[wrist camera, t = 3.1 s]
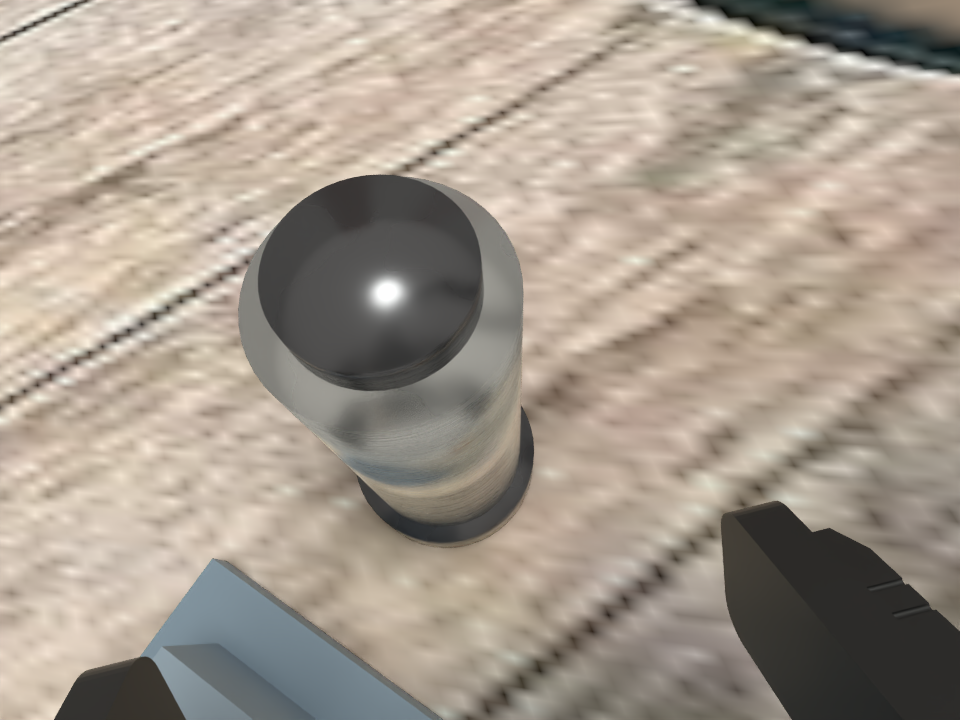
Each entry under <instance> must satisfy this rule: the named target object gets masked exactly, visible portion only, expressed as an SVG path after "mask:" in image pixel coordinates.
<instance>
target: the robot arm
mask: <svg viewBox="0 0 960 720" xmlns="http://www.w3.org/2000/svg"><path fill="white" fill-rule="evenodd" d="M721 533H722V548H723V563H724V578H725V593H726V601H727V606H728V610H729V614H730V617H731V620H732V622H733V625H734V627H735V630H736V632H737V634H738V636H739V638H740V640H741V642H742V643H743V645H744V647H745V648H746V650H747V651H748V653H749V654H750V656H751V658H752V659H753V661H754V662H755V664H756V665H757V667H758V668H759V670H760V671H761V673H762V674H763V676H764V677H765V679H766V681H767V682H768V684H769V685H770V687H771V688H772V690H773V691H774V693H775V694H776V696H777V697H778V699H779V701H780V702H781V704H782V705H783V707H784V708H785V710H786V711H787V713H788V714H789V716H790V717H791V719H792V720H960V631H959V630H957V629H956V628H955V627H954V626H953V625H952V624H951V623H950V622H949V621H948V620H947V619H946V618H945V617H943V616H942V615H941V614H940V613H939V612H938V611H937V610H932V609H931V608H930V606H929V603H928V602H927V601H926V600H925V599H924V598H923V597H922V596H921V595H920V594H919V593H918V592H917V591H915V590H914V589H913V588H912V587H911V586H910V585H909V584H906V585H905V584H904V583H903V581H902V578H901V577H900V576H899V575H898V574H897V573H896V572H895V571H894V570H893V569H892V568H891V567H890V566H888V565H887V564H886V563H885V562H884V561H883V560H882V559H881V558H880V557H879V556H878V555H877V554H876V553H874V552H873V551H872V550H871V549H870V548H868V547H866V546H864V545H862V544H860V543H858V542H856V541H854V540H852V539H850V538H848V537H846V536H844V535H842V534H840V533H838V532H836V531H834V530H832V529H830V528H828V529H824V530H820V531H816V532H811V531H810V530H809V528H808V527H807V526H806V525H805V524H804V523H803V522H802V521H801V520H800V519H799V518H798V517H797V516H796V515H795V514H794V513H793V512H792V511H791V510H790V509H789V508H788V507H787V506H786V505H784V504H783V503H781V502H779V501H772V502H768V503H764V504H760V505H756V506H752V507H748V508H744V509H740V510H736V511H732V512H728V513H725V514H724V515H723V516H722V520H721ZM54 720H186V719H185V717H184V715H183V713H182V711H181V709H180V707H179V705H178V704H177V702H176V700H175V698H174V696H173V694H172V692H171V691H170V689H169V687H168V685H167V683H166V681H165V679H164V677H163V676H162V674H161V672H160V670H159V668H158V666H157V665H156V663H155V662H154V661H153V660H152V659H151V658H149V657H146V656H144V657H138V658H134V659H130V660H126V661H122V662H118V663H114V664H110V665H106V666H102V667H98V668H94V669H90V670H87V671H85V672H84V673H82V674H81V675H80V676H79V677H78V678H77V680H76V681H75V683H74V684H73V686H72V688H71V690H70V692H69V693H68V695H67V697H66V699H65V701H64V702H63V704H62V706H61V708H60V710H59V712H58V713H57V715H56V717H55V719H54Z"/></svg>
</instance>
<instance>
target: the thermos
mask: <svg viewBox="0 0 960 720" xmlns="http://www.w3.org/2000/svg"><path fill="white" fill-rule="evenodd" d="M238 316H239V330H240V336H241V342H242V345H243V348H244V351H245V354H246V357H247V359H248V361H249V363H250V365H251V367H252V369H253V371H254V373H255V374H256V375H257V377H258V378H259V380H260V381H261V382H262V384H263V385H264V386H265V388H266V389H267V390H268V391H269V392H270V393H271V394H272V395H273V396H274V397H275V398H276V399H277V400H278V401H280V402H281V403H282V404H283V405H284V406H285V407H286V408H287V409H288V410H289V411H290V412H291V413H292V414H293V415H294V416H295V417H296V418H297V419H299V420H300V421H301V422H302V423H303V424H304V425H305V426H306V427H307V428H308V429H309V430H310V431H311V432H312V433H313V434H314V435H315V436H316V437H318V438H319V439H320V440H321V441H322V442H323V443H324V444H325V445H326V446H327V447H328V448H329V449H330V450H331V451H332V452H333V453H334V454H335V455H337V456H338V457H339V458H340V459H341V460H342V461H343V462H344V463H345V464H346V465H347V466H348V467H349V468H350V469H351V470H352V471H353V472H354V473H356V474H357V477H358V482H359V484H360V487H361V490H362V492H363V494H364V496H365V498H366V500H367V501H368V503H369V504H370V506H371V507H372V508H373V510H374V511H375V512H376V513H377V514H378V515H379V516H380V517H381V518H382V519H383V520H384V521H385V522H386V523H387V524H389V525H390V526H391V527H393V528H394V529H395V530H396V531H398V532H399V533H400V534H402V535H403V536H405V537H407V538H409V539H411V540H413V541H415V542H418V543H420V544H424V545H428V546H432V547H441V548H453V547H461V546H466V545H470V544H473V543H476V542H479V541H481V540H483V539H485V538H487V537H489V536H491V535H492V534H494V533H495V532H497V531H498V530H500V529H501V528H502V527H503V526H504V525H505V524H507V523H508V521H509V520H510V519H511V518H512V517H513V516H514V515H515V513H516V512H517V510H518V509H519V508H520V506H521V504H522V502H523V500H524V498H525V496H526V494H527V491H528V488H529V485H530V481H531V476H532V469H533V457H534V444H533V436H532V431H531V427H530V424H529V421H528V418H527V416H526V414H525V412H524V410H523V408H522V407H521V383H522V338H523V279H522V273H521V269H520V264H519V260H518V258H517V255H516V252H515V250H514V247H513V245H512V243H511V241H510V240H509V238H508V236H507V234H506V232H505V231H504V230H503V229H502V227H501V226H500V225H499V223H498V222H497V221H496V219H495V218H494V217H493V216H492V215H491V214H490V213H489V212H488V211H487V210H485V209H484V208H483V207H482V206H481V205H479V204H478V203H477V202H475V201H474V200H473V199H471V198H469V197H468V196H466V195H464V194H462V193H461V192H459V191H457V190H455V189H452V188H450V187H447V186H445V185H443V184H439V183H436V182H432V181H429V180H425V179H418V178H412V177H401V176H394V175H366V176H360V177H353V178H349V179H346V180H342V181H339V182H336V183H334V184H331V185H328V186H326V187H324V188H322V189H320V190H318V191H316V192H314V193H313V194H311V195H310V196H308V197H307V198H305V199H304V200H302V201H301V202H300V203H299V204H297V205H296V206H295V207H294V208H293V209H291V210H290V211H289V213H288V214H287V215H286V216H285V217H284V218H283V219H282V220H281V221H280V222H279V223H278V225H277V226H276V227H275V228H274V229H273V230H272V231H271V232H270V233H269V234H268V236H267V237H266V238H265V240H264V241H263V242H262V244H261V245H260V246H259V248H258V250H257V252H256V253H255V255H254V257H253V259H252V260H251V263H250V265H249V267H248V270H247V272H246V274H245V277H244V281H243V285H242V288H241V292H240V300H239V308H238Z"/></svg>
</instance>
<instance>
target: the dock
mask: <svg viewBox="0 0 960 720" xmlns="http://www.w3.org/2000/svg"><path fill="white" fill-rule="evenodd" d="M144 656H146V657H149V658H151V659H152V660H153V661H154V662H155V663H156V665H157V666H158V668H159V670H160V672H161V674H162V676H163V677H164V679H165V681H166V683H167V685H168V687H169V689H170V691H171V692H172V694H173V696H174V698H175V700H176V702H177V704H178V705H179V707H180V709H181V711H182V713H183V715H184V717H185V719H186V720H443V719H442V718H440V717H439V716H437V715H436V714H435V713H433V712H432V711H431V710H429V709H428V708H427V707H425V706H424V705H422V704H421V703H420V702H418V701H417V700H416V699H414V698H413V697H412V696H410V695H409V694H407V693H406V692H405V691H403V690H402V689H401V688H399V687H398V686H396V685H395V684H394V683H392V682H391V681H390V680H388V679H387V678H386V677H384V676H383V675H381V674H380V673H379V672H377V671H376V670H375V669H373V668H372V667H371V666H369V665H368V664H366V663H365V662H364V661H362V660H361V659H360V658H358V657H357V656H355V655H354V654H353V653H351V652H350V651H349V650H347V649H346V648H345V647H343V646H342V645H340V644H339V643H338V642H336V641H335V640H334V639H332V638H331V637H330V636H328V635H327V634H325V633H324V632H323V631H321V630H320V629H319V628H317V627H316V626H315V625H313V624H312V623H310V622H309V621H308V620H306V619H305V618H304V617H302V616H301V615H299V614H298V613H297V612H295V611H294V610H293V609H291V608H290V607H289V606H287V605H286V604H284V603H283V602H282V601H280V600H279V599H278V598H276V597H275V596H274V595H272V594H271V593H269V592H268V591H267V590H265V589H264V588H263V587H261V586H260V585H259V584H257V583H256V582H254V581H253V580H252V579H250V578H249V577H248V576H246V575H245V574H243V573H242V572H241V571H239V570H238V569H237V568H235V567H234V566H233V565H231V564H230V563H228V562H227V561H222V560H218V559H212V560H211V561H210V563H209V564H208V565H207V567H206V568H205V569H204V571H203V572H202V573H201V575H200V576H199V577H198V579H197V580H196V582H195V583H194V584H193V586H192V587H191V588H190V590H189V591H188V592H187V594H186V595H185V596H184V598H183V599H182V601H181V602H180V603H179V605H178V606H177V607H176V609H175V610H174V611H173V613H172V614H171V615H170V617H169V618H168V620H167V621H166V622H165V624H164V625H163V626H162V628H161V629H160V630H159V632H158V633H157V634H156V636H155V637H154V638H153V640H152V641H151V643H150V644H149V645H148V647H147V648H146V649H145V651H144V652H143V653H142V655H141V656H140V657H144Z"/></svg>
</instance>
